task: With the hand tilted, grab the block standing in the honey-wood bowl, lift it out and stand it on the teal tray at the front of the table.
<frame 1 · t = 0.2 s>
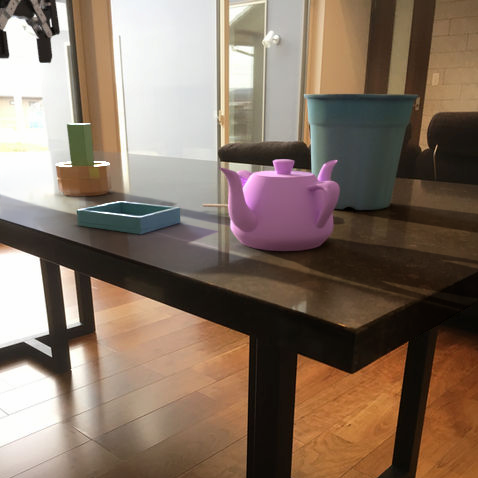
hand: (25, 60, 84), 21 cm above the table, tool pointing down, fingers open, 8 cm apart
block: (85, 189, 92), point 1 cm above the table, touching bowl
flower pot: (350, 205, 82), on the table
tray: (130, 224, 67), on the table
teapot: (282, 242, 59), on the table
popsicle: (253, 213, 75), on the table
bowl: (86, 192, 93), on the table
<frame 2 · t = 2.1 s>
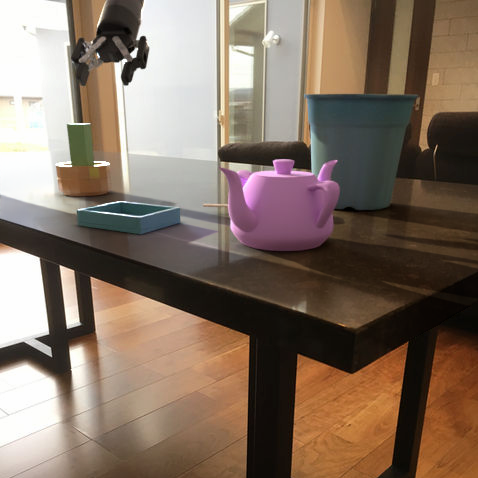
hand: (102, 82, 96), 19 cm above the table, tool tilted 45°, fingers open, 8 cm apart
nothing on the table moved.
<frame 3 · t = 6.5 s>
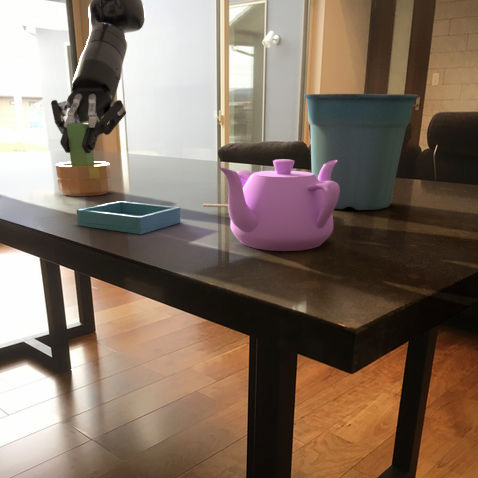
hand: (76, 149, 88), 8 cm above the table, tool tilted 45°, fingers closed on block, 3 cm apart
block: (85, 189, 92), point 1 cm above the table, touching gripper
everything else where it was.
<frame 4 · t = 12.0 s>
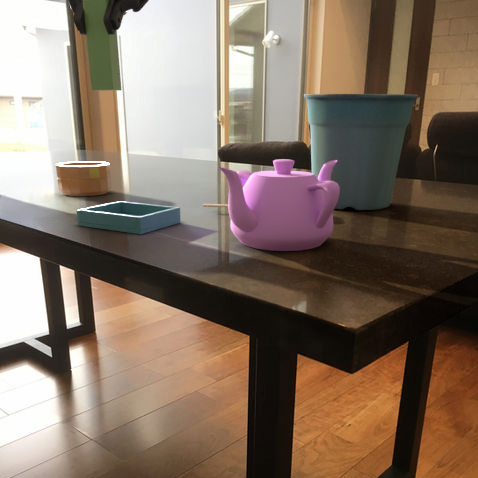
hand: (95, 28, 64), 23 cm above the table, tool tilted 45°, fingers closed on block, 3 cm apart
block: (106, 90, 68), point 16 cm above the table, touching gripper
everything else where it was.
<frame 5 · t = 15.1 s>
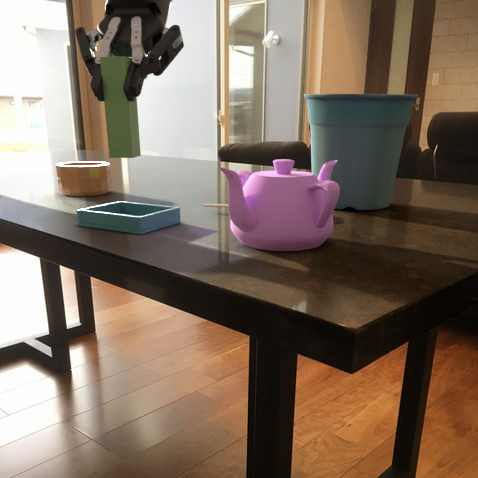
hand: (113, 95, 60), 15 cm above the table, tool tilted 45°, fingers closed on block, 3 cm apart
block: (125, 156, 64), point 8 cm above the table, touching gripper
everything else where it was.
when the fingers open (7 cm above the table, at t = 17.5 s): block stays where it is, resting on tray.
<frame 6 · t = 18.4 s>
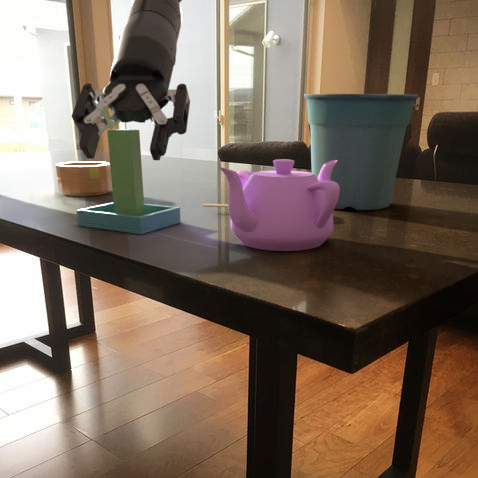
hand: (120, 155, 63), 9 cm above the table, tool tilted 45°, fingers open, 8 cm apart
block: (130, 220, 67), resting on tray
everything else where it was.
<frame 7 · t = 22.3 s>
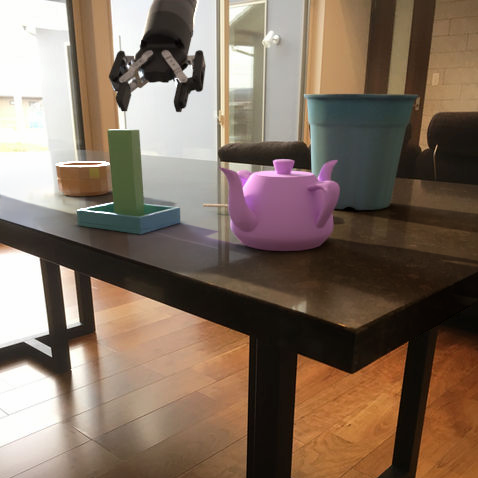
hand: (149, 107, 77), 14 cm above the table, tool tilted 45°, fingers open, 8 cm apart
nothing on the table moved.
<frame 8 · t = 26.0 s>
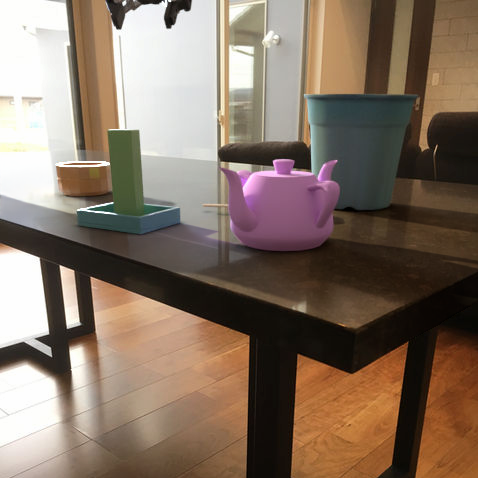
hand: (141, 24, 84), 27 cm above the table, tool tilted 45°, fingers open, 8 cm apart
nothing on the table moved.
at the end: block inside the target area in the tray (0.1 cm from its centre), point 0.5 cm above the tray's base; block tilted 0° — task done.
